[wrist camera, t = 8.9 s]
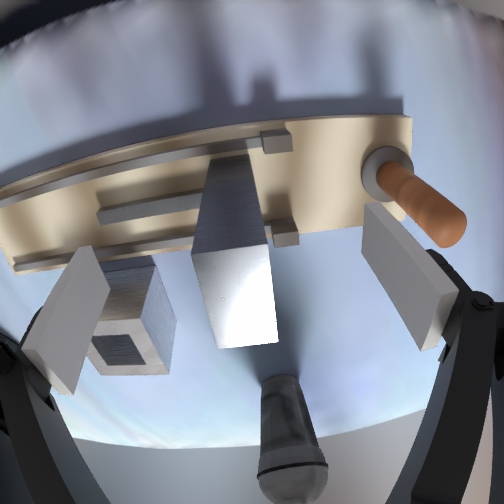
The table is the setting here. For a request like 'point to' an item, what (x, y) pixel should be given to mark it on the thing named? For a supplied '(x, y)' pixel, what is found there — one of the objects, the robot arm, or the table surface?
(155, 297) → the link
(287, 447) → the beverage cup
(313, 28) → the table surface
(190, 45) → the table surface
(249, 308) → the grey l-shaped block
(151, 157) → the board
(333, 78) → the table surface
